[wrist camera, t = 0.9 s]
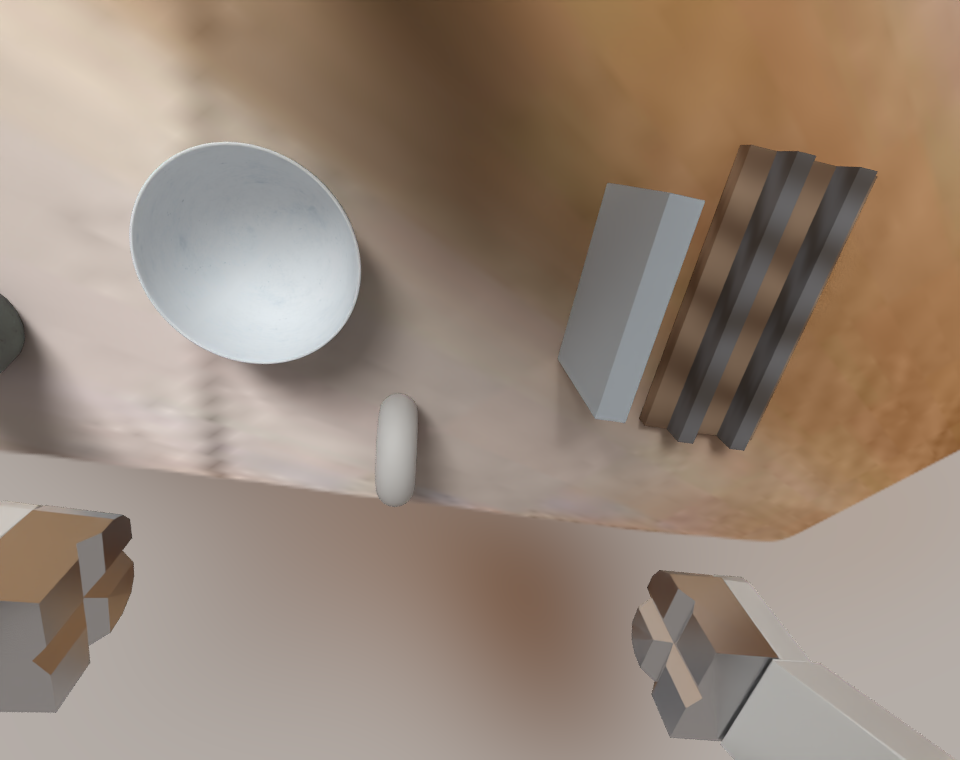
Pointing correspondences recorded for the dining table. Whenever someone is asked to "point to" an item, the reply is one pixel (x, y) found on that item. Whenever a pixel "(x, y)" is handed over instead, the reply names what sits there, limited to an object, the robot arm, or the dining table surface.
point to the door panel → (625, 293)
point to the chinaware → (245, 252)
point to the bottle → (9, 333)
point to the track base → (714, 281)
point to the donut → (396, 450)
